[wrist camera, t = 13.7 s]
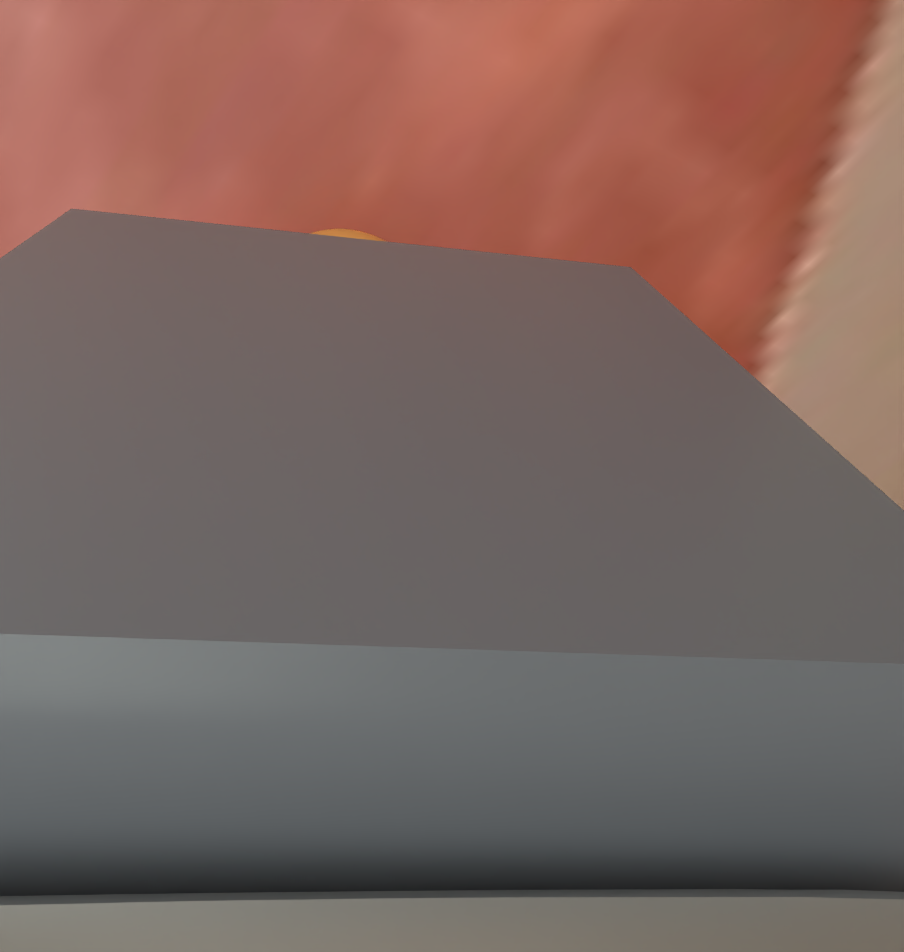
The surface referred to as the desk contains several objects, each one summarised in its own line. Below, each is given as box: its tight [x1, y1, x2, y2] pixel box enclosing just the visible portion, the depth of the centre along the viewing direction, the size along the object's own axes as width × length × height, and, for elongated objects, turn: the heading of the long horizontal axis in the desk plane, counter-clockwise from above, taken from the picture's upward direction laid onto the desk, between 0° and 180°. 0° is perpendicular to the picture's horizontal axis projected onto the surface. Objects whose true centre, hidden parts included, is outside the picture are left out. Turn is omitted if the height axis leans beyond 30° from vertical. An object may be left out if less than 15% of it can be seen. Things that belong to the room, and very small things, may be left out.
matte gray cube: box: [0, 209, 904, 896], centre depth 10 cm, size 8×8×9 cm
